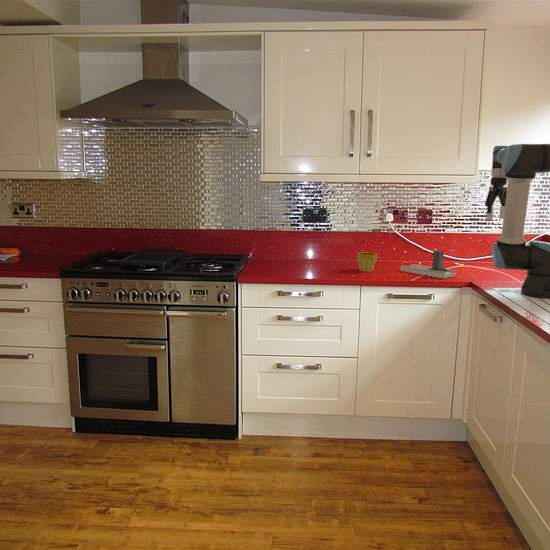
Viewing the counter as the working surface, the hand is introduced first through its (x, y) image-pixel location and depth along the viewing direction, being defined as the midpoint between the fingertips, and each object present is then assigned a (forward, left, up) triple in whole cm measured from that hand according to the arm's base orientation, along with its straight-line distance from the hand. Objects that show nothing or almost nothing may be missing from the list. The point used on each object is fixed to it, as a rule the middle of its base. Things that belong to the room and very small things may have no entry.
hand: (495, 219), depth 262 cm
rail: (+21, +27, -29) cm, 45 cm away
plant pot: (+45, +47, -29) cm, 71 cm away
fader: (+15, +27, -26) cm, 41 cm away
